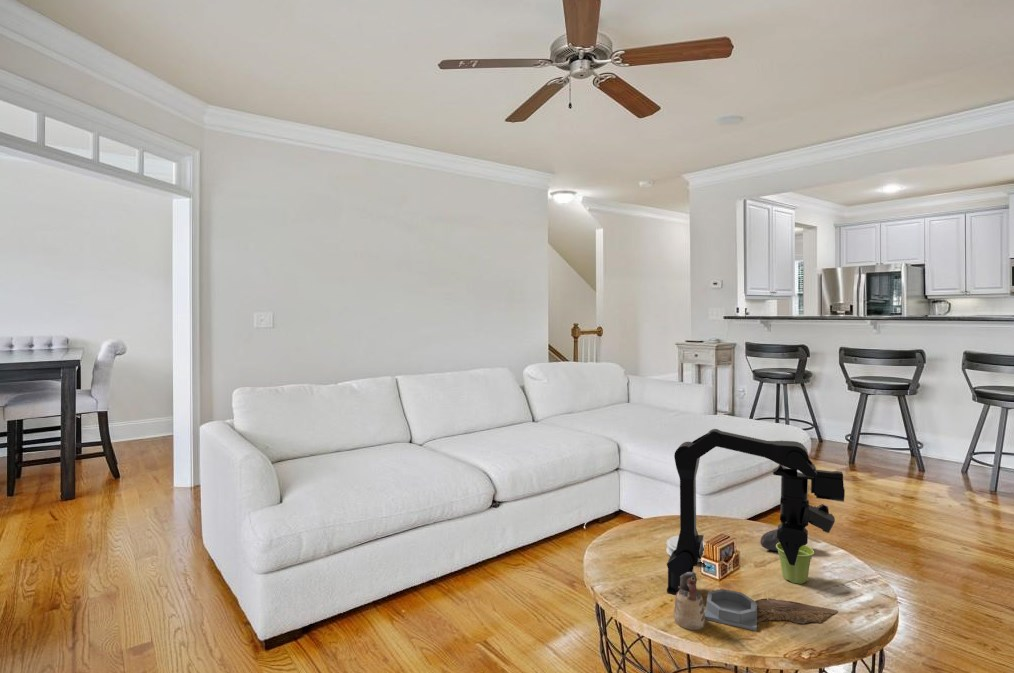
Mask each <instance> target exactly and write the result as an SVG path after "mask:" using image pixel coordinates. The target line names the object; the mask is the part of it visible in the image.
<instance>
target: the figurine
mask: <svg viewBox="0 0 1014 673" xmlns="http://www.w3.org/2000/svg"><path fill="white" fill-rule="evenodd" d="M695 574H696V573H695ZM695 574H693V573H692V572H687V573H685V574H683V575H681V576H680V586H679V587H678V589H679V591H678V592H677V593H676V594H675V597H674V599H675V600H674V609H673V621H674V622H675V624H677V626H679V627H681V628H683V629H685V630H689V631H690V630H691V631H699V630H701V629H703V628H704V627H705V625H706V620H705V607H704V598H703V596H702V594H701V593H700V592H699V591H698V590H697V581H698V578H697V574H696V575H695Z"/></svg>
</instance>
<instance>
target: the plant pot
mask: <svg viewBox="0 0 1014 673" xmlns="http://www.w3.org/2000/svg"><path fill="white" fill-rule="evenodd" d="M776 548H777V549H778V551H777V553H778V555H779V560H780V567H781V575H782V579H784V580H786V581H789V582H790V583H793V584H800V585H802V584H804V583H807V582H808V577H809V573H810V572H809V571H810V565H811V560H812V558H813V556H814V555H815V551H814V549H813V548H811V547H810V546H809V545H807V544H806V545H803V546H801V547H800V548H799V551H798V555H797V559H796V562H795V565H794V566H793V565H790V564H789V562H788V560H787V557H786V555H785V553H784V550H783V548H782V546H781V544H780V543H777V544H776Z"/></svg>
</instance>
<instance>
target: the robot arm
mask: <svg viewBox="0 0 1014 673" xmlns="http://www.w3.org/2000/svg"><path fill="white" fill-rule="evenodd" d="M716 447H717V448H722V449H725V450H731V451H736V452H739V453H743V454H748V455H752V456H757V457H761V458H765V459H767V460H770V461H771V462H775V463H776V464H777V465H778V466H776V467H775V468H773V469H772V475H774V476H779V477H781V478H780V501H779V504H780V515H779V520H780V524H778V525H777V528H776V529H777V538H778V540H779V541H780V544H781V546H782V548H783V550H784V553H785V555H786V557H787V560H788V562H789V564H790V565H793V566H794V565H795V562H796V559H797V555H798V551H799V548H800V547H801V546H803V545H806V546H807V544H808V542H809V541H808V540H809V539H808V538H809V536H808V535H809V533H808V532H809V531H808V529H807V527H808V526H809V524H810V525H813V527H816V528H818V529H820V530H822V531H823V532H825V533H827V534H829V533H830V532H831V530H832V528H833V526H834V524H835V523H836V522H835V521H836V520H835V516H834V515H833V514H832V513H830V511H829V507H828V505H825V504H824V503H821V504H820V505H818V506H816V505H815V506H814V505H811V504H810V500H809V498H808V495H809V494H808V490H809V489H808V488H809V486H808V485H809V480H810V494H813V496H815V498H816V499H822V500H828V501H835V502H844V501H845V494H846V492H845V491H846V489H845V486H844V474H843V472H842V471H839V470H835V471H832V470H831V471H830V470H822V469H821V470H820V469H817V467H816V466H815V464H814V463H813V461H811V459H810V458H809V453H808V449H807V447H806V446H805V445H804V444H803V443H801V442H799V441H794V440H793V441H792V440H791V441H790V440H765V439H761V438H756V437H751V436H746V435H742V434H737V433H731V432H727V431H722V430H720V429H717V428H711V429H710V430H709V431H708V432H707V433H705V434H703V435H702V436H699V437H697V438H696V439H694V440H693V441H684V442H682V443H681V444H680V445H679V446H678V448H677V449H676V450H675V451H674V455H673V456H674V463H675V467H676V471H677V474H678V476H679V515H680V516H679V518H680V519H679V520H680V524H679V526H680V527H679V528H680V529H679V530H680V531H679V538H678V543H677V548H676V550H674V551H673V552H672V554H671V556H670V555H669V558H668V561H667V563H666V567H667V587H666V592H667V593H669V594H673V595H676V593H677V592H678V591H679V589H678V587H679V586H680V576H681V575H683V574H685V573H687V572H692V573H693V574H695V575H696V576H697V573H695V571H694V569H695V566H697V564H698V563H699V562H698V560H699V559H701V556H702V554H703V551H704V547H703V541H704V534H699V533H698V530H697V498H696V497H697V484H696V483H697V479H696V478H697V473H698V469H699V464H700V461H701V460H700V459H701V457H703V456H704V455H705V454H708V453H709V452H710V451H712V450H713V449H715V448H716ZM799 471H800V472H799Z"/></svg>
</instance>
